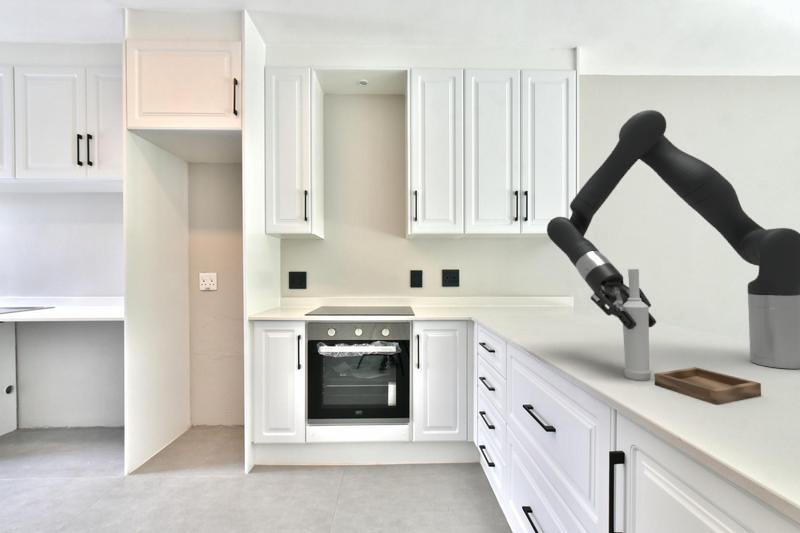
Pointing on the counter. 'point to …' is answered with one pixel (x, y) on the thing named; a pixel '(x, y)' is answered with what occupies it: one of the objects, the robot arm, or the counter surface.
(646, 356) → the bottle
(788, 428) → the counter surface
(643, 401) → the counter surface
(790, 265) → the robot arm
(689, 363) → the counter surface
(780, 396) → the counter surface
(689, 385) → the walnut tray
